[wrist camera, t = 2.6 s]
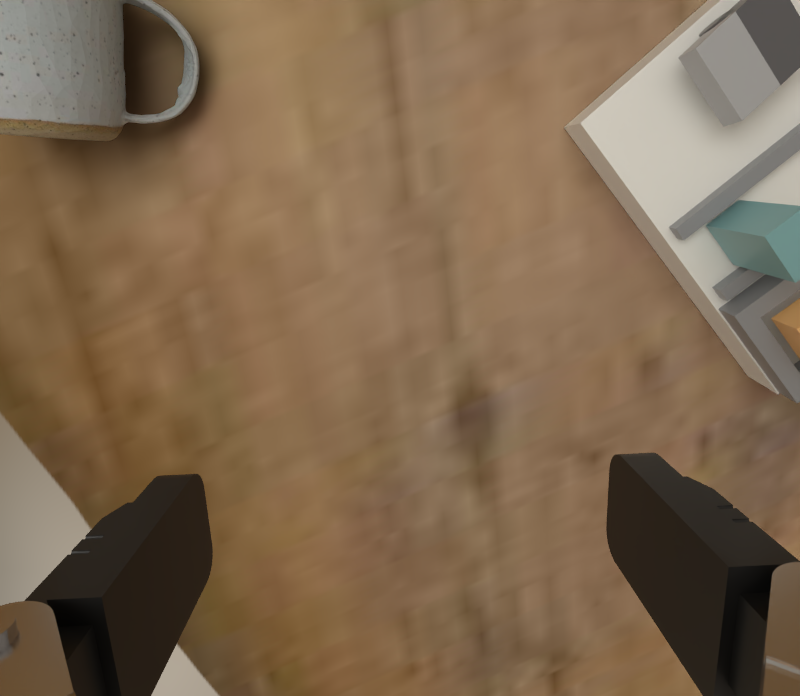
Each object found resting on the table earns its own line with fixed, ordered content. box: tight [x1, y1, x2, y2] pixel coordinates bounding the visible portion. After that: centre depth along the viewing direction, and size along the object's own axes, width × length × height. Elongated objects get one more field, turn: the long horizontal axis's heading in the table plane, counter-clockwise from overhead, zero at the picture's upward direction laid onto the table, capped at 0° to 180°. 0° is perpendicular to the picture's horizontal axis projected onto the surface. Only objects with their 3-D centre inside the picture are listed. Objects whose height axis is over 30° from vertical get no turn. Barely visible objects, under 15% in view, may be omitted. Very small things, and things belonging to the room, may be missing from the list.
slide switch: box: [706, 200, 800, 283], centre depth 27 cm, size 2×3×5 cm
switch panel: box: [564, 0, 800, 403], centre depth 29 cm, size 14×20×5 cm
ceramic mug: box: [0, 0, 200, 141], centre depth 26 cm, size 11×8×8 cm
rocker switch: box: [678, 0, 800, 127], centre depth 26 cm, size 5×4×2 cm
